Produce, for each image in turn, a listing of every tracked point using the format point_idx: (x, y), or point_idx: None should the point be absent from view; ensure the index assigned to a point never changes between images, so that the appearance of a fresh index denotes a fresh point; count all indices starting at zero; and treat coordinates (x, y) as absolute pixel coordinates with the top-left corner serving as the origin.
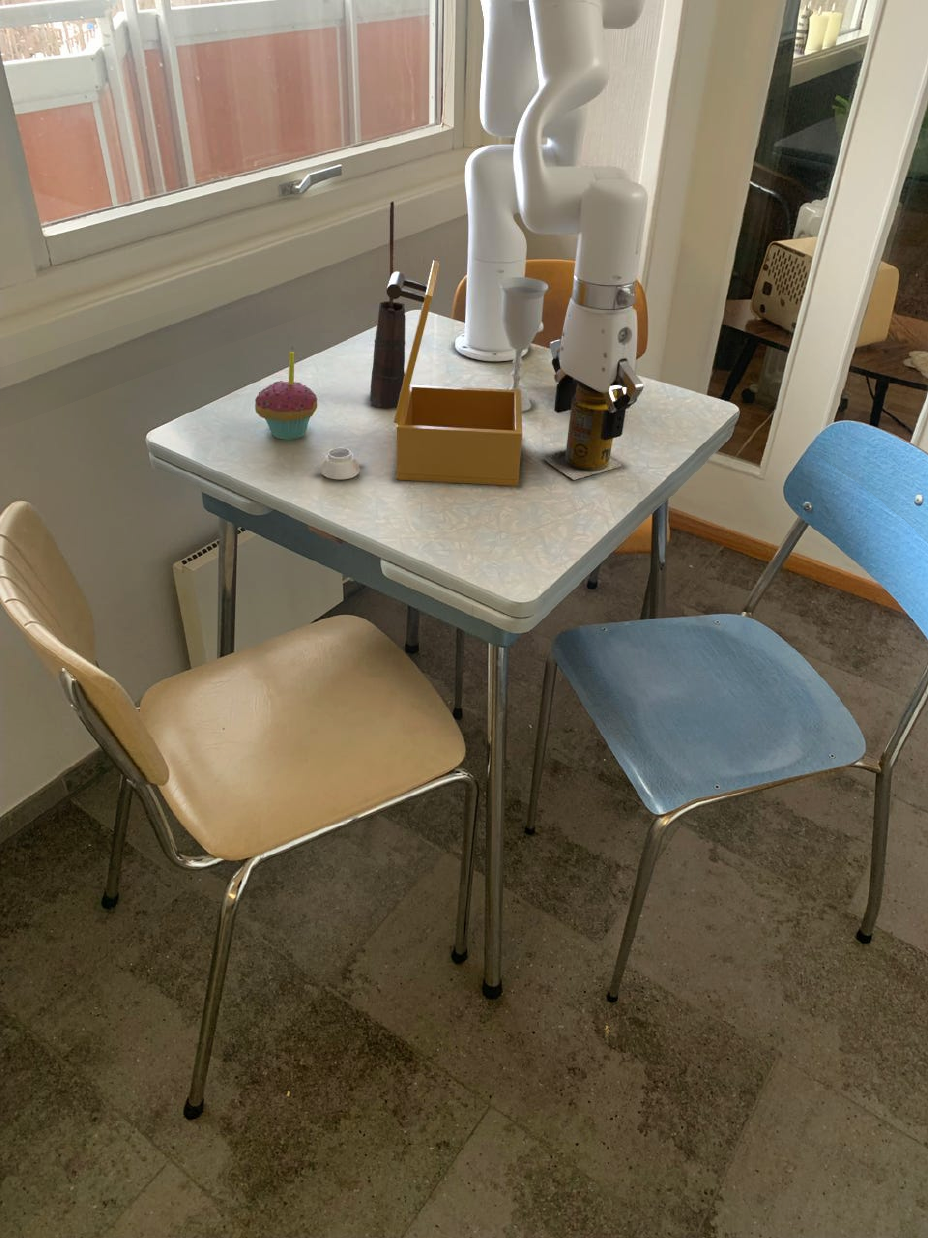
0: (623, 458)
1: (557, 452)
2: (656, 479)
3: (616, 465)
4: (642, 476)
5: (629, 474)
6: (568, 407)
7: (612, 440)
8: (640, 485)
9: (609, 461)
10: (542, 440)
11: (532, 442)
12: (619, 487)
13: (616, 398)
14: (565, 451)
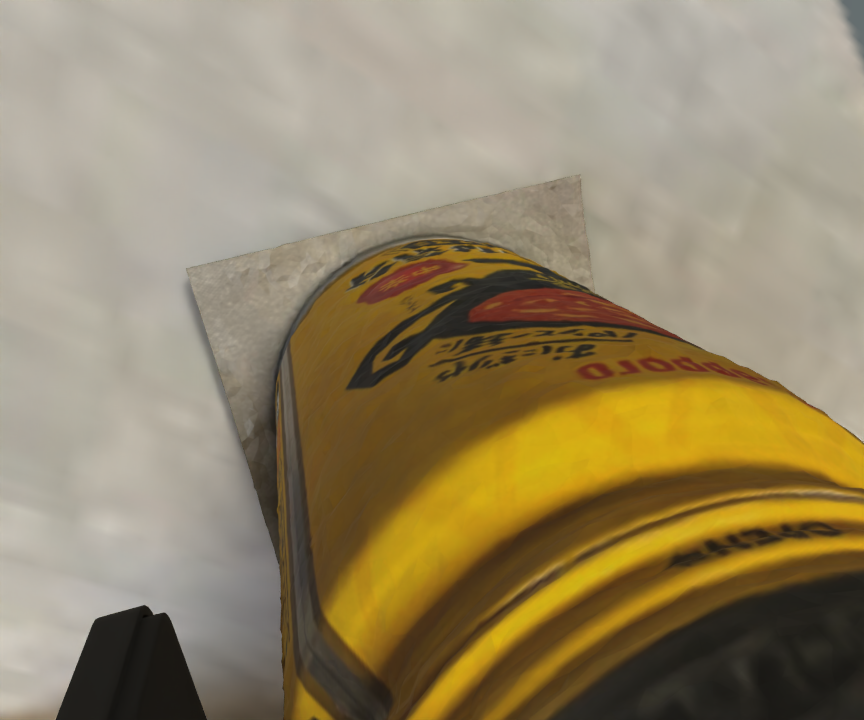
0: (464, 92)
1: (272, 541)
2: (812, 25)
3: (559, 213)
4: (740, 102)
5: (684, 179)
6: (188, 709)
7: (586, 288)
8: (827, 184)
9: (488, 233)
10: (24, 561)
11: (46, 634)
12: (791, 327)
13: (814, 442)
14: (264, 480)
